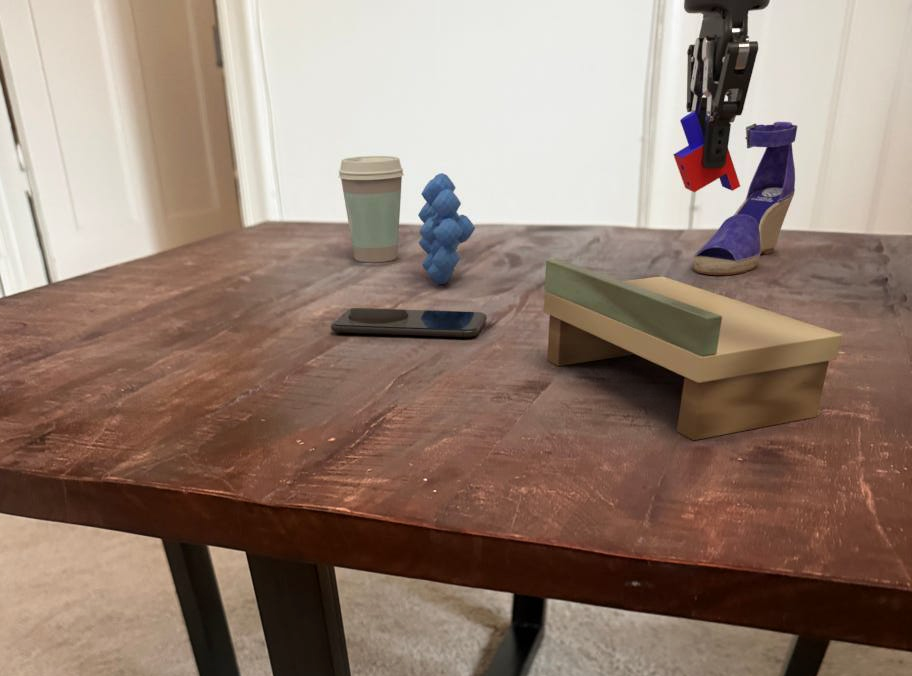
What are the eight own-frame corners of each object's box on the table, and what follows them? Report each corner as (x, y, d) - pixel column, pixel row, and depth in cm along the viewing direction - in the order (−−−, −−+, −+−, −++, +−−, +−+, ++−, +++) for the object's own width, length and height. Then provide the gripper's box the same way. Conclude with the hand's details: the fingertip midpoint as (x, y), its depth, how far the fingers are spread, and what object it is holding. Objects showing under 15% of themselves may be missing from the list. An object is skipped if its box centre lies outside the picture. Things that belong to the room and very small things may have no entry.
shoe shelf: (654, 343, 82) (665, 246, 77) (823, 416, 65) (851, 297, 60) (541, 360, 78) (545, 259, 73) (689, 442, 61) (707, 317, 56)
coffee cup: (375, 250, 124) (370, 154, 117) (419, 256, 119) (416, 157, 113) (331, 260, 119) (323, 160, 112) (376, 267, 114) (370, 163, 107)
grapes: (488, 291, 101) (489, 175, 94) (431, 296, 100) (429, 178, 93) (463, 272, 110) (462, 164, 104) (411, 275, 109) (407, 167, 103)
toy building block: (691, 204, 90) (663, 126, 86) (730, 181, 89) (703, 101, 85) (700, 209, 87) (671, 128, 83) (740, 186, 86) (713, 103, 82)
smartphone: (488, 319, 90) (349, 315, 93) (488, 311, 90) (348, 306, 92) (476, 339, 84) (328, 334, 87) (476, 330, 84) (327, 325, 86)
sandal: (668, 269, 109) (685, 130, 100) (752, 246, 120) (774, 119, 111) (726, 278, 104) (749, 133, 95) (808, 253, 115) (835, 121, 106)
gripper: (807, -66, 71) (769, 171, 81) (748, -48, 83) (721, 157, 93) (715, -62, 71) (688, 175, 81) (670, -45, 83) (651, 160, 92)
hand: (706, 164), depth 87 cm, fingers closed on toy building block, 3 cm apart
